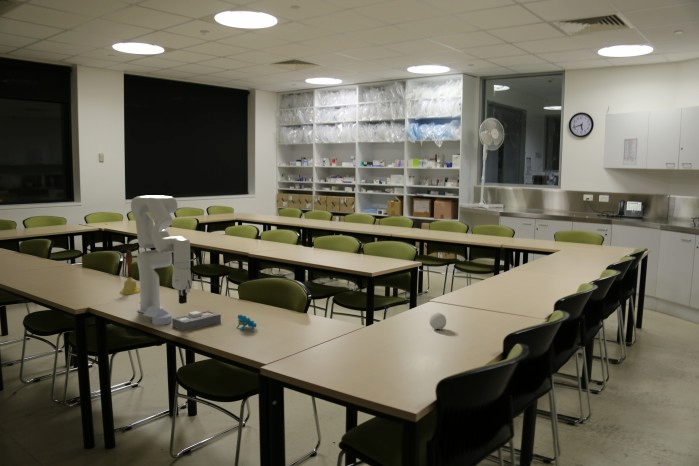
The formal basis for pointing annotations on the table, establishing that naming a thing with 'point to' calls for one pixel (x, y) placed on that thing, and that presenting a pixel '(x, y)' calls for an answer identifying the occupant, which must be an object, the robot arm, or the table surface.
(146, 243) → the robot arm
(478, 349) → the table surface
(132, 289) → the handbell
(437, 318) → the ball
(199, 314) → the button
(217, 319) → the button panel
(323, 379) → the table surface
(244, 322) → the blue flower cluster
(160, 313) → the wedge on round base
